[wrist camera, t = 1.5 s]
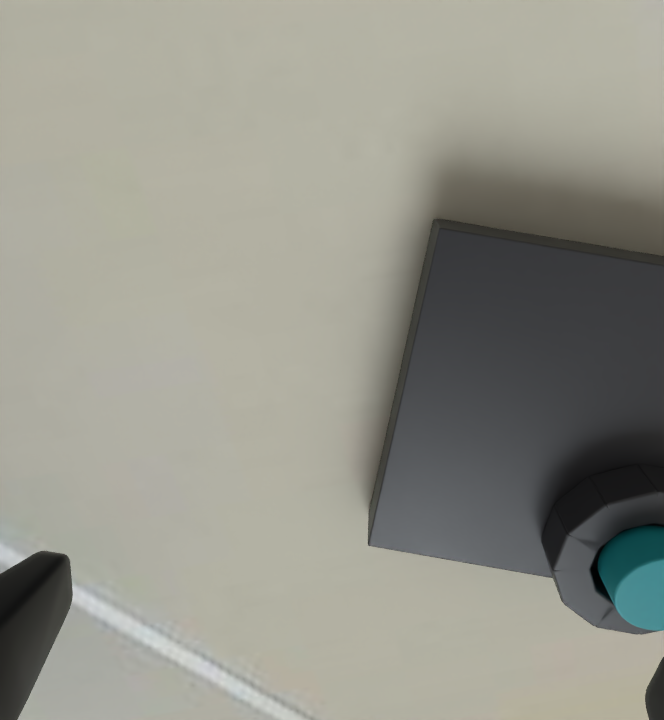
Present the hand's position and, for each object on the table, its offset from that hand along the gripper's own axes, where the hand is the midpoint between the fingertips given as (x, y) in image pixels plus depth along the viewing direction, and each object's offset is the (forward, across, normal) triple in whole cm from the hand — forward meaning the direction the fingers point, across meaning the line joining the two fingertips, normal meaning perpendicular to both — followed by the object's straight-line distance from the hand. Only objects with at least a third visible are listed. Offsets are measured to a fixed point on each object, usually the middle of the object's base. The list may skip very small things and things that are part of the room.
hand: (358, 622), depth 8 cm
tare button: (+9, -10, +5) cm, 15 cm away
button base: (+12, -7, +2) cm, 14 cm away
